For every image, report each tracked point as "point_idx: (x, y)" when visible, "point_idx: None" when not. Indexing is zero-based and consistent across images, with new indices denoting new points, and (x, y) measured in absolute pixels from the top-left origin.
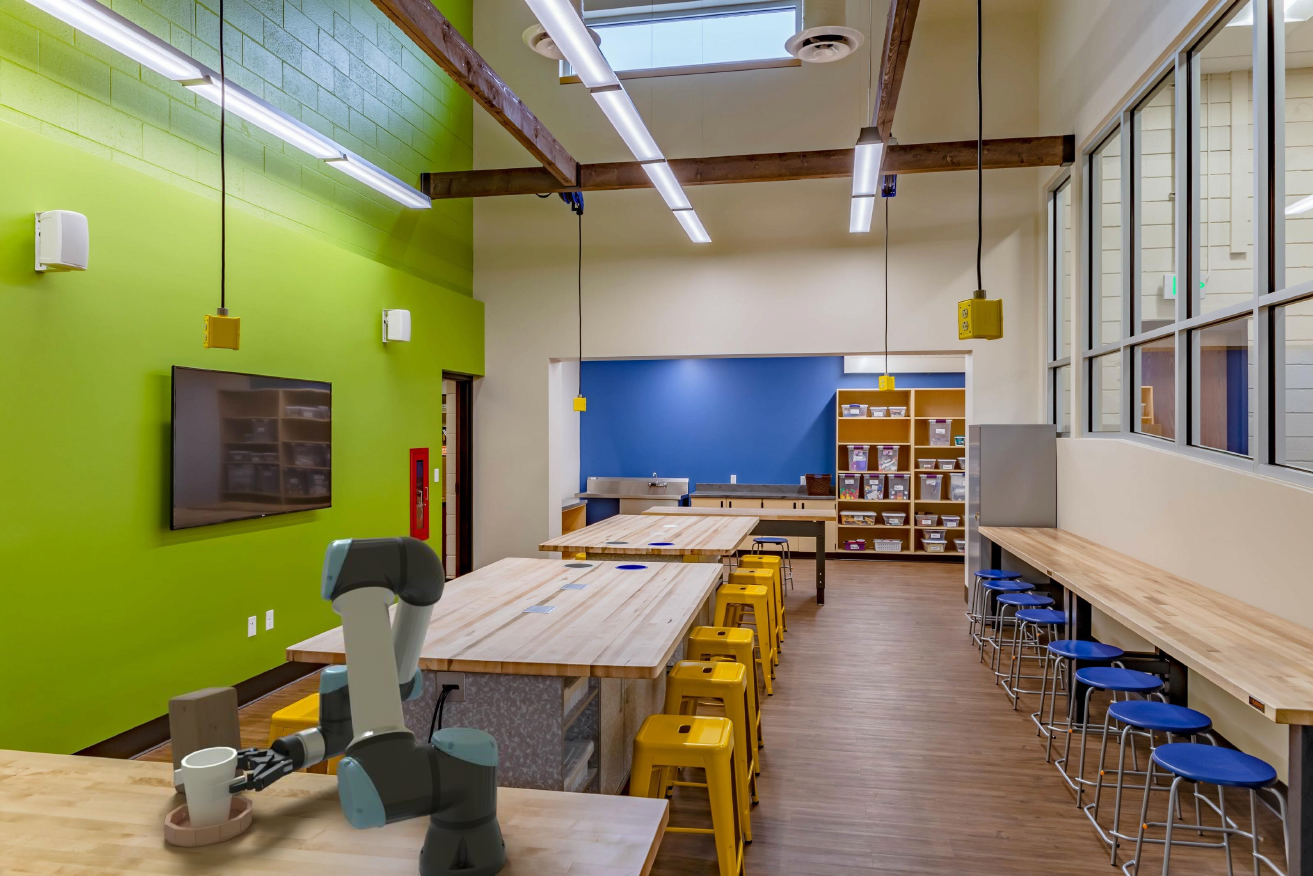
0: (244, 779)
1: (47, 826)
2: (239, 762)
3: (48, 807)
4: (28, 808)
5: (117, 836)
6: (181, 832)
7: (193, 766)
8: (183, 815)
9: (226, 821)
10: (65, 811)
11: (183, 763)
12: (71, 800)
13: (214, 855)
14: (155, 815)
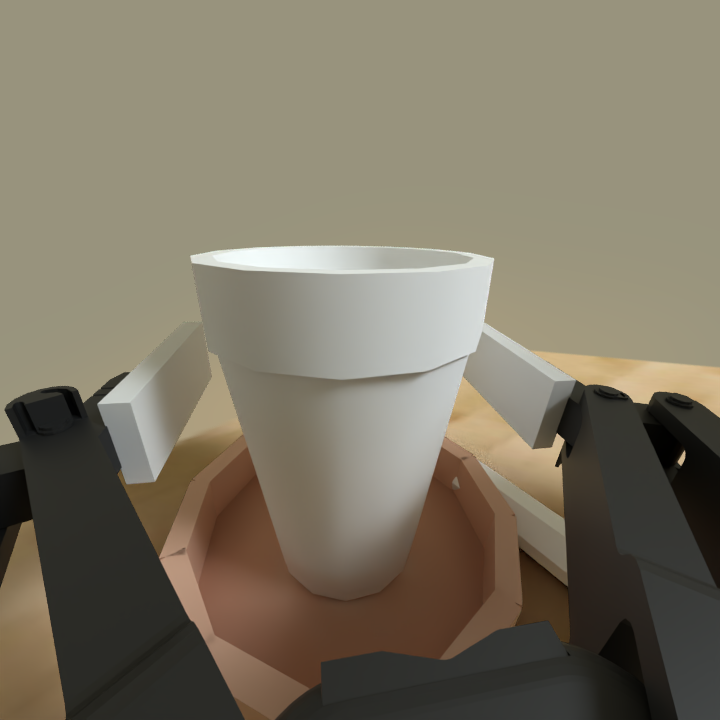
0: (108, 418)
1: (561, 370)
2: (589, 561)
3: (663, 382)
4: (661, 370)
5: (454, 406)
6: None
7: (298, 247)
8: (453, 482)
9: (197, 505)
10: (634, 389)
11: (361, 246)
12: (705, 402)
13: (150, 489)
14: (554, 472)
